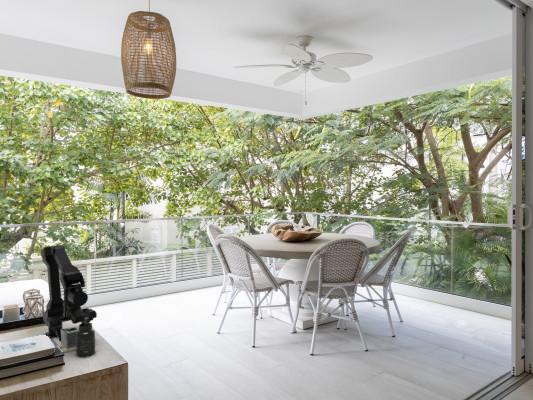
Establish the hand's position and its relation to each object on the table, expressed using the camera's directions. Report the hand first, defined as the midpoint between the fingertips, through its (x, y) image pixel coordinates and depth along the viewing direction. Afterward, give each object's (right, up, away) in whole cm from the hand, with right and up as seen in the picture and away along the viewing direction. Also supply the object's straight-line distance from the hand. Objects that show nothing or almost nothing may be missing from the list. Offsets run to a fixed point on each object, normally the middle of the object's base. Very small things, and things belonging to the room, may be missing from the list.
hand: (71, 338), depth 174 cm
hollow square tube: (0, -3, 0) cm, 3 cm away
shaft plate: (0, -4, 0) cm, 4 cm away
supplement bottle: (+9, -4, -7) cm, 12 cm away
